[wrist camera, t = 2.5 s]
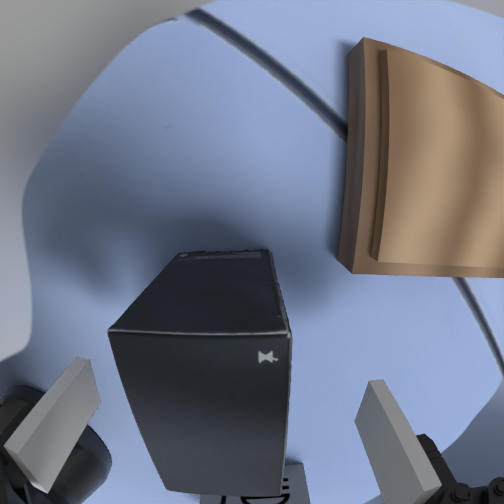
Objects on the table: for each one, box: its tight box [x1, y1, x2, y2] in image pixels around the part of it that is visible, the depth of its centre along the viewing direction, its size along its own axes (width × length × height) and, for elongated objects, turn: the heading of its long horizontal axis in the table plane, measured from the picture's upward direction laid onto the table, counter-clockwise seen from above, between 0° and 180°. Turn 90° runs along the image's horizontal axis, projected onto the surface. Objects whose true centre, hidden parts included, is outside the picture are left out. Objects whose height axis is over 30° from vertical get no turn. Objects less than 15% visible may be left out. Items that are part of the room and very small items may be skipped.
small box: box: [108, 249, 292, 497], centre depth 15 cm, size 11×6×10 cm, turn 2°
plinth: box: [337, 37, 504, 278], centre depth 15 cm, size 14×14×4 cm
